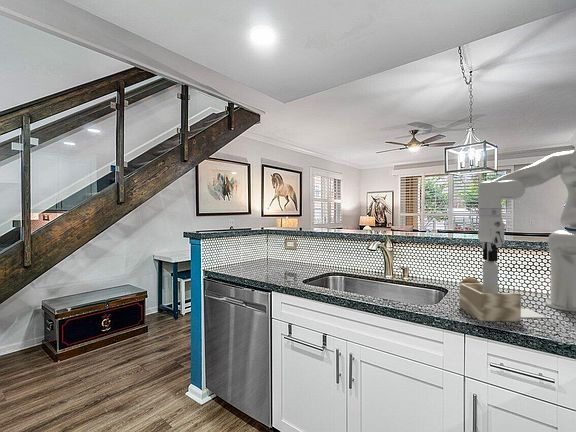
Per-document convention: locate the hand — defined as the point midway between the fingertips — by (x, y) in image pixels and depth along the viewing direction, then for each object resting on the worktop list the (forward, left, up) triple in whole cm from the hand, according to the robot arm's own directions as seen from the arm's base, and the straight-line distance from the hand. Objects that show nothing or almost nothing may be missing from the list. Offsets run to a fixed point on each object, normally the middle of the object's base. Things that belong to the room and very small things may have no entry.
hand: (490, 260), depth 123 cm
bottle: (0, 0, -18) cm, 18 cm away
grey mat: (-13, 0, -21) cm, 25 cm away
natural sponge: (-3, -19, -21) cm, 29 cm away
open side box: (0, 0, -21) cm, 21 cm away
